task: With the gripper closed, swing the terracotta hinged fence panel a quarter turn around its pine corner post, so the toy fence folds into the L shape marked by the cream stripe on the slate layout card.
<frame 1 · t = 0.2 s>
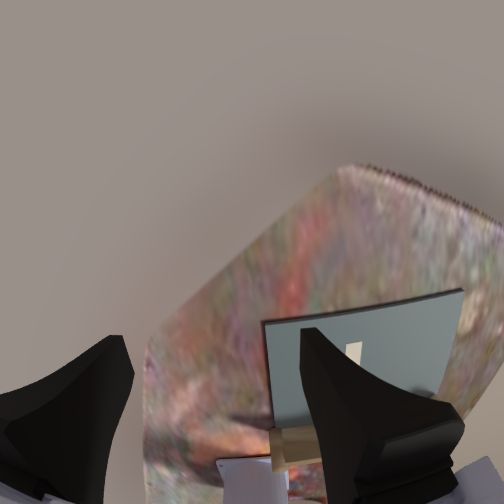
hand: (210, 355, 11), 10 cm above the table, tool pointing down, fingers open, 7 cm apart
layout card: (369, 376, 25), on the table
fence frame: (344, 420, 26), resting on layout card
fence panel: (406, 423, 24), point 3 cm above the table, hinge at -90.0°
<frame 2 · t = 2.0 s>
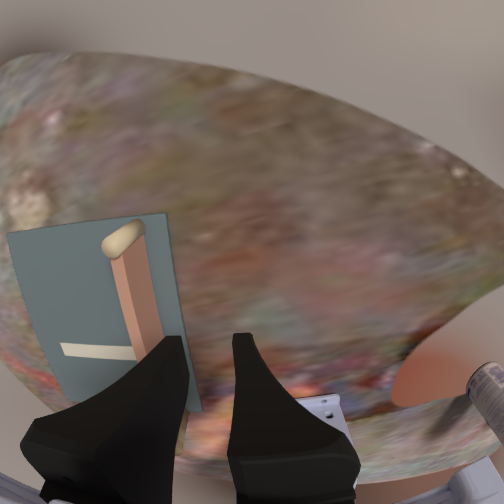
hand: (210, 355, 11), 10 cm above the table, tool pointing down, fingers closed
layout card: (99, 329, 22), on the table
energy drink: (480, 376, 27), on the table
fence frame: (164, 353, 23), resting on layout card
fence panel: (138, 301, 18), point 3 cm above the table, hinge at -90.0°
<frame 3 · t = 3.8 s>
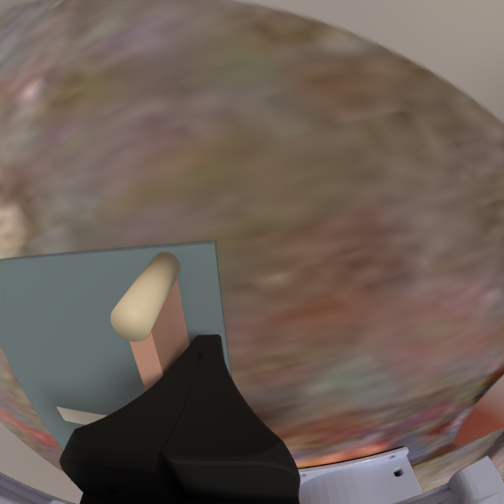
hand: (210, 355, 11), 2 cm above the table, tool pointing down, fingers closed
layout card: (109, 397, 15), on the table
fence panel: (174, 384, 11), point 3 cm above the table, hinge at -89.9°, touching gripper
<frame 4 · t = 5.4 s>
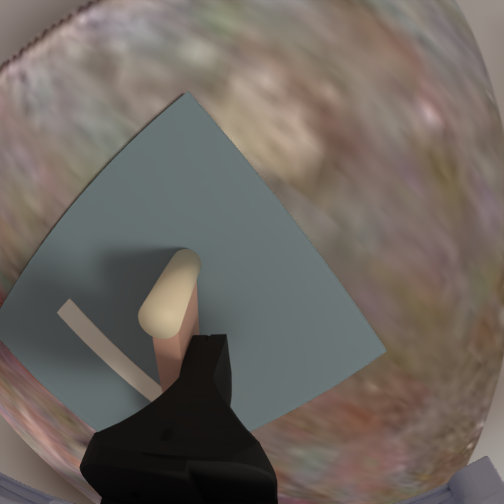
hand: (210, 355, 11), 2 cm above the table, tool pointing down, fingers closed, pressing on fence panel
layout card: (154, 349, 14), on the table
fence panel: (184, 382, 11), point 3 cm above the table, hinge at -40.2°, touching gripper
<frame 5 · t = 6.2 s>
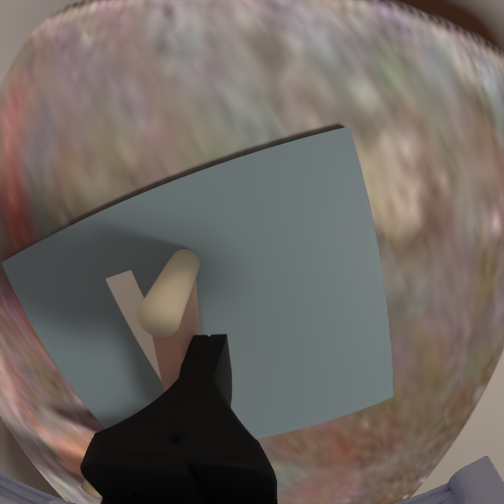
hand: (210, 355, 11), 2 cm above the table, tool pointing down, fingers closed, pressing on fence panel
layout card: (200, 346, 14), on the table
fence panel: (187, 382, 11), point 3 cm above the table, hinge at -17.8°, touching gripper
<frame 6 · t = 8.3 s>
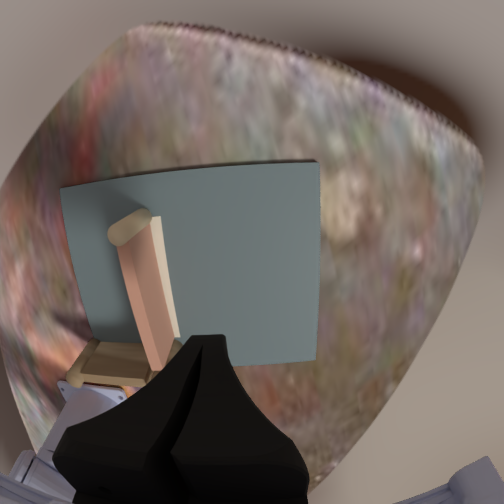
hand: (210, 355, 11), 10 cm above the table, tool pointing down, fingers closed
layout card: (189, 279, 21), on the table
fence frame: (173, 347, 22), resting on layout card
fence panel: (146, 291, 18), point 3 cm above the table, hinge at 2.3°
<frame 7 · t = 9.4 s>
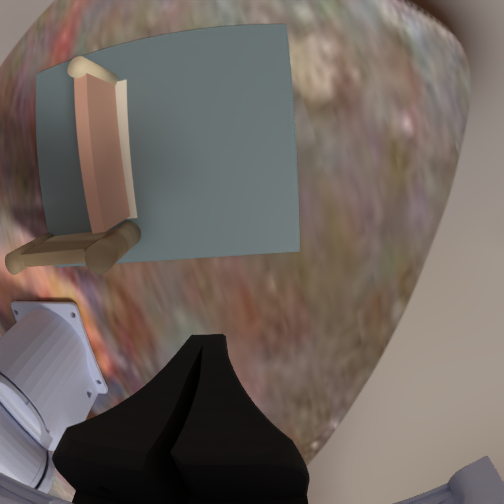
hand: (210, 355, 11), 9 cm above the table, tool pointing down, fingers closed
layout card: (150, 145, 18), on the table
fence frame: (130, 233, 19), resting on layout card
fence panel: (99, 142, 15), point 3 cm above the table, hinge at 2.3°
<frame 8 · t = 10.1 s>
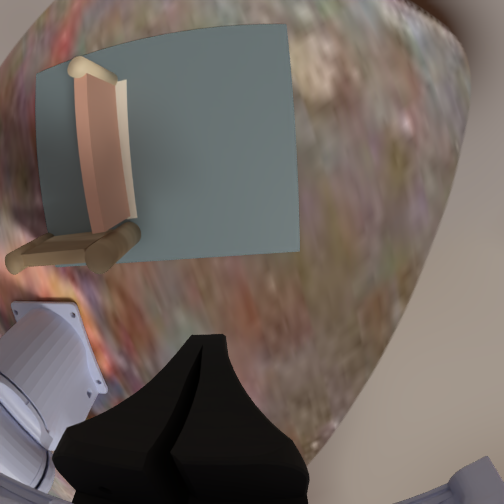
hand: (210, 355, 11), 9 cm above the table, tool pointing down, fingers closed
layout card: (150, 145, 18), on the table
fence frame: (130, 233, 19), resting on layout card
fence panel: (99, 142, 15), point 3 cm above the table, hinge at 2.3°
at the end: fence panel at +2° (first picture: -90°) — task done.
